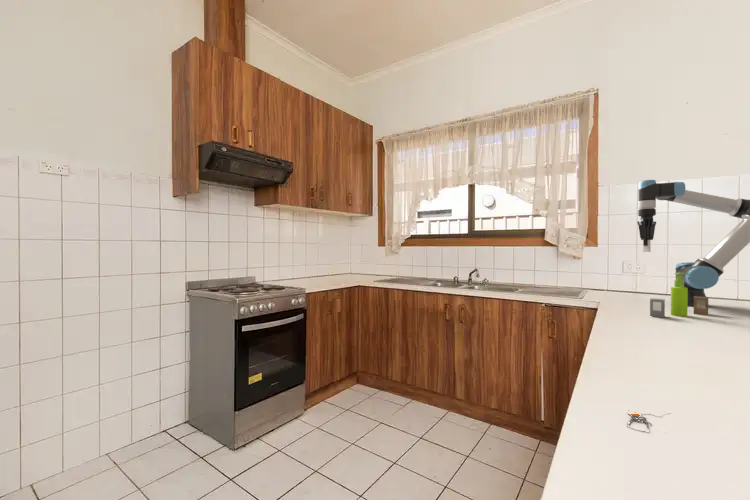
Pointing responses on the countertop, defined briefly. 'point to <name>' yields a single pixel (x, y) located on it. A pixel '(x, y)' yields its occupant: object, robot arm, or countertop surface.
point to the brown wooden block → (701, 305)
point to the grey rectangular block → (657, 307)
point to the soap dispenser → (679, 297)
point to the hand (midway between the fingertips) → (646, 251)
